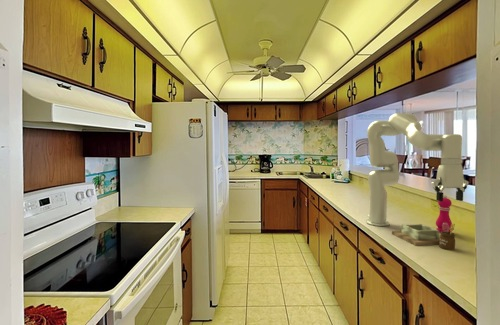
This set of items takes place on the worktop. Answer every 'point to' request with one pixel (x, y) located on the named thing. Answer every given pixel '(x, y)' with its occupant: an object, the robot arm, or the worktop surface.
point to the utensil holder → (447, 239)
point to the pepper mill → (444, 215)
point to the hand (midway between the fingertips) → (449, 200)
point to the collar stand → (418, 234)
